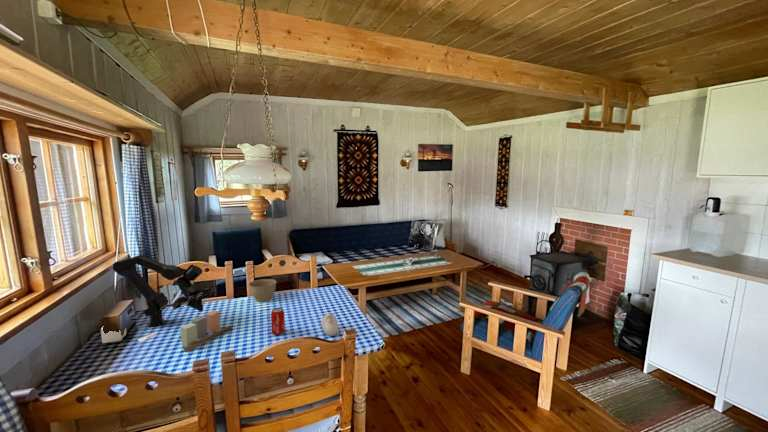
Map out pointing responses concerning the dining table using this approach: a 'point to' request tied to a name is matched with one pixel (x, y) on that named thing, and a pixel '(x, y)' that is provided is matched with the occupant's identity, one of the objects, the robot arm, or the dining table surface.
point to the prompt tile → (146, 337)
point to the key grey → (200, 326)
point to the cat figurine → (330, 324)
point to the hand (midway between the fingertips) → (202, 311)
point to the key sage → (188, 334)
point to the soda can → (277, 321)
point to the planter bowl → (262, 289)
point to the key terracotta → (213, 321)
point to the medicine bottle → (112, 336)
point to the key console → (207, 338)
